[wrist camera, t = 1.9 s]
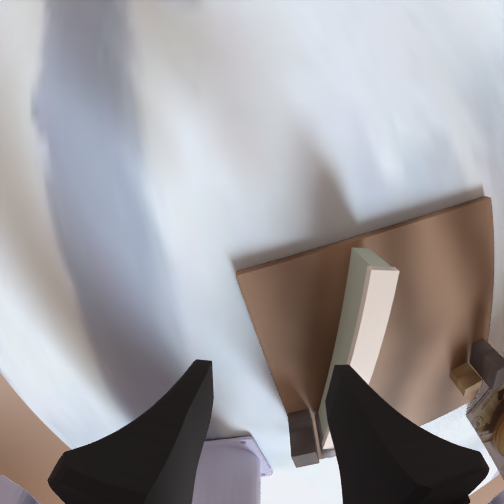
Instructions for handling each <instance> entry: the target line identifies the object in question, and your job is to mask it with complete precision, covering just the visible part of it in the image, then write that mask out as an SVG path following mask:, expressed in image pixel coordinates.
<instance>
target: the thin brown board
mask: <svg viewBox="0 0 504 504" xmlns="http://www.w3.org/2000/svg"><path fill="white" fill-rule="evenodd" d="M352 247H353V248H370V249H371V250H372V251H373V252H374V253H376V254H377V255H378V256H379V257H380V258H382V259H383V260H384V261H385V262H386V263H388V264H389V265H390V266H391V267H395V268H397V269H398V270H399V276H398V281H397V286H396V290H395V295H394V299H393V303H392V307H391V312H390V316H389V319H388V323H387V327H386V331H385V334H384V338H383V341H382V345H381V348H380V352H379V355H378V358H377V361H376V364H375V367H374V371H373V374H372V377H371V379H370V382H369V386H370V387H371V388H372V389H373V390H374V391H375V392H376V393H377V394H378V395H379V396H380V397H381V398H383V399H384V400H385V401H386V402H387V403H388V404H389V405H391V406H392V407H393V408H394V409H395V410H396V411H398V412H399V413H400V414H402V415H403V416H404V417H406V418H407V419H409V420H410V421H411V422H413V423H414V424H416V425H417V426H421V425H424V424H426V423H428V422H430V421H432V420H435V419H437V418H439V417H441V416H443V415H445V414H447V413H449V412H451V411H453V410H455V409H457V408H459V407H460V406H462V405H464V404H466V403H468V402H470V401H471V400H473V399H475V398H476V395H477V391H478V389H479V388H480V387H481V384H482V379H483V380H484V381H485V382H486V383H487V385H488V386H489V387H490V388H491V389H492V390H494V389H495V388H497V387H498V386H500V385H501V384H503V382H504V358H503V357H502V356H501V355H500V354H499V353H498V352H497V351H496V350H495V349H494V348H493V347H491V346H490V345H489V344H488V343H487V342H488V336H489V328H490V320H491V311H492V300H493V284H494V230H493V214H492V203H491V198H490V197H486V196H484V197H481V198H478V199H475V200H472V201H469V202H466V203H462V204H459V205H456V206H453V207H450V208H447V209H444V210H440V211H437V212H434V213H431V214H428V215H424V216H421V217H418V218H415V219H412V220H408V221H405V222H402V223H399V224H395V225H392V226H389V227H386V228H382V229H379V230H376V231H373V232H369V233H366V234H363V235H359V236H356V237H353V238H349V239H346V240H343V241H339V242H336V243H333V244H329V245H326V246H323V247H319V248H316V249H313V250H309V251H306V252H302V253H299V254H296V255H292V256H289V257H285V258H282V259H278V260H275V261H272V262H268V263H265V264H261V265H258V266H254V267H251V268H247V269H244V270H240V271H237V272H236V278H237V281H238V284H239V287H240V289H241V292H242V295H243V298H244V301H245V303H246V306H247V309H248V312H249V314H250V317H251V320H252V323H253V325H254V328H255V331H256V334H257V336H258V339H259V342H260V344H261V347H262V350H263V352H264V355H265V358H266V361H267V363H268V366H269V368H270V371H271V374H272V376H273V379H274V382H275V384H276V387H277V390H278V392H279V395H280V397H281V400H282V403H283V405H284V408H285V410H286V413H287V416H288V421H289V433H290V445H291V457H292V459H293V462H294V464H295V466H296V468H297V467H302V466H307V465H312V464H317V463H319V459H323V458H326V457H323V456H322V455H321V450H320V445H319V439H318V433H317V427H316V422H315V413H316V412H317V411H319V408H320V404H321V400H322V396H323V393H324V389H325V385H326V381H327V377H328V373H329V369H330V364H331V360H332V356H333V351H334V347H335V342H336V337H337V332H338V327H339V322H340V317H341V312H342V306H343V301H344V295H345V289H346V283H347V277H348V270H349V264H350V256H351V249H352ZM481 377H482V379H481Z"/></svg>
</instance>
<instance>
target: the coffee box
mask: <svg viewBox="0 0 504 504" xmlns="http://www.w3.org/2000/svg"><path fill="white" fill-rule="evenodd" d="M466 417H467V418H468V420H469V421H470V423H471V424H472V426H473V428H474V429H475V431H476V432H477V434H478V436H479V437H480V439H481V441H482V442H483V444H484V446H485V447H486V449H487V451H488V453H489V454H490V456H491V458H492V460H493V461H494V463H495V465H496V467H497V469H498V470H499V472H500V474H501V476H502V478H503V479H504V382H503V384H501V385H500V386H498V387H497V388H495V389H494V390H492V389H491V388H490V389H489V390H488V391H487V392H486V393H485V395H484V396H483V397H482V398H481V399H480V401H479V402H478V403H477V404H476V405H475V406H474V408H473V409H472V410H471V411H470V412H469V413H468V414H467V416H466Z"/></svg>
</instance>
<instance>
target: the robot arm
mask: <svg viewBox="0 0 504 504" xmlns="http://www.w3.org/2000/svg"><path fill="white" fill-rule="evenodd" d="M213 398H214V396H213V373H212V361H207V360H195V361H194V362H193V363H192V365H191V366H190V367H189V368H188V370H187V371H186V372H185V373H184V375H183V376H182V377H181V378H180V379H179V380H178V381H177V383H176V384H175V385H174V386H173V387H172V388H171V389H170V390H169V391H168V392H167V393H166V394H165V395H164V396H163V397H162V398H161V399H160V400H159V401H158V402H156V403H155V404H154V405H153V406H152V407H151V408H150V409H148V410H147V411H146V412H145V413H143V414H142V415H141V416H139V417H138V418H137V419H135V420H134V421H132V422H131V423H129V424H128V425H126V426H124V427H123V428H121V429H119V430H118V431H116V432H114V433H112V434H110V435H108V436H106V437H104V438H102V439H100V440H98V441H95V442H93V443H91V444H88V445H85V446H82V447H79V448H76V449H73V450H70V451H66V452H64V453H63V455H62V456H61V458H60V459H59V460H58V462H57V464H56V466H55V467H54V469H53V471H52V473H51V475H50V477H49V478H48V483H49V486H50V487H51V489H52V490H53V491H54V492H55V493H56V494H57V495H58V496H59V497H60V499H61V500H62V501H63V502H65V504H260V494H261V477H262V476H270V475H272V470H271V468H270V466H269V465H268V463H267V461H266V460H265V458H264V456H263V454H262V453H261V451H260V449H259V447H258V446H257V444H256V442H255V440H254V439H253V438H252V437H250V436H246V437H238V438H231V439H222V440H212V441H205V438H206V434H207V430H208V427H209V423H210V419H211V413H212V406H213ZM325 405H326V414H327V422H328V426H329V430H330V434H331V438H332V442H333V445H334V449H335V453H336V457H337V461H338V465H339V470H340V476H341V485H342V496H343V504H469V503H470V499H469V497H468V495H469V494H470V493H471V492H472V491H473V490H474V489H475V488H476V487H477V486H478V485H479V484H480V483H481V482H482V481H483V480H484V479H485V478H486V476H487V474H488V472H489V467H488V465H487V463H486V461H485V460H484V458H483V456H482V454H481V453H480V452H479V451H475V450H472V449H469V448H465V447H462V446H459V445H456V444H453V443H451V442H448V441H446V440H444V439H442V438H439V437H437V436H435V435H433V434H431V433H430V432H428V431H426V430H424V429H422V428H421V427H419V426H417V425H416V424H414V423H413V422H411V421H410V420H409V419H407V418H406V417H404V416H403V415H402V414H400V413H399V412H398V411H396V410H395V409H394V408H393V407H392V406H391V405H389V404H388V403H387V402H386V401H385V400H384V399H383V398H381V397H380V396H379V395H378V394H377V393H376V392H375V391H374V390H373V389H372V388H371V387H370V386H369V385H368V384H367V383H366V382H365V381H364V380H363V379H362V377H361V376H360V375H359V374H358V373H357V372H356V371H355V370H354V369H353V368H352V367H351V366H350V365H334V369H333V373H332V377H331V381H330V385H329V389H328V392H327V396H326V400H325ZM0 504H41V503H39V502H37V501H36V499H35V498H34V497H33V496H32V495H31V494H30V493H29V492H27V491H26V490H25V489H23V488H22V487H20V486H19V485H17V484H15V483H14V482H12V481H11V480H10V479H8V478H6V477H5V476H4V475H0ZM488 504H504V490H503V491H502V492H501V493H499V494H498V495H497V496H496V497H494V498H493V499H492V500H491V501H490V503H488Z"/></svg>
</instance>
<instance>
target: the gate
mask: <svg viewBox="0 0 504 504" xmlns="http://www.w3.org/2000/svg"><path fill="white" fill-rule="evenodd" d="M398 276H399V270H398V269H397V268H395V267H391V266H390V265H389V264H388V263H386V262H385V261H384V260H383V259H382V258H380V257H379V256H378V255H377V254H376V253H374V252H373V251H372V250H371V249H370V248H353V247H352V249H351V256H350V264H349V270H348V277H347V283H346V289H345V295H344V301H343V306H342V312H341V317H340V322H339V327H338V332H337V337H336V342H335V347H334V351H333V356H332V360H331V364H330V369H329V373H328V377H327V381H326V385H325V389H324V393H323V396H322V400H321V404H320V408H319V411H317V412H316V413H315V422H316V427H317V433H318V439H319V445H320V450H321V455H322V456H323V457H326V458H330V457H334V456H336V453H335V449H334V445H333V442H332V438H331V434H330V430H329V426H328V422H327V414H326V405H325V400H326V396H327V392H328V389H329V385H330V381H331V377H332V373H333V369H334V365H350V366H351V367H352V368H353V369H354V370H355V371H356V372H357V373H358V374H359V375H360V376H361V377H362V379H363V380H364V381H365V382H366V383H367V384H368V385H369V382H370V379H371V377H372V374H373V371H374V367H375V364H376V361H377V358H378V355H379V352H380V348H381V345H382V341H383V338H384V334H385V331H386V327H387V323H388V319H389V316H390V312H391V307H392V303H393V299H394V295H395V290H396V286H397V281H398Z"/></svg>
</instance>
